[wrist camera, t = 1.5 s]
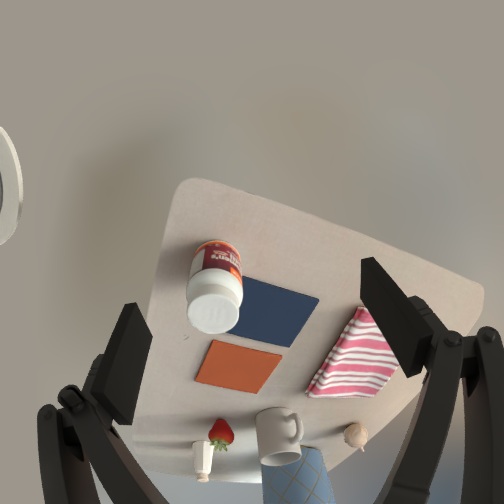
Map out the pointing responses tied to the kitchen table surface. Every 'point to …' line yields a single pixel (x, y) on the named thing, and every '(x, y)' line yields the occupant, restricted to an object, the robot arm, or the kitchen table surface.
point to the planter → (298, 481)
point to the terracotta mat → (236, 367)
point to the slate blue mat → (271, 313)
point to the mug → (278, 436)
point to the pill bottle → (214, 288)
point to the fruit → (221, 434)
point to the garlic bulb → (356, 436)
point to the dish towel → (355, 362)
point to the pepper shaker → (202, 459)
